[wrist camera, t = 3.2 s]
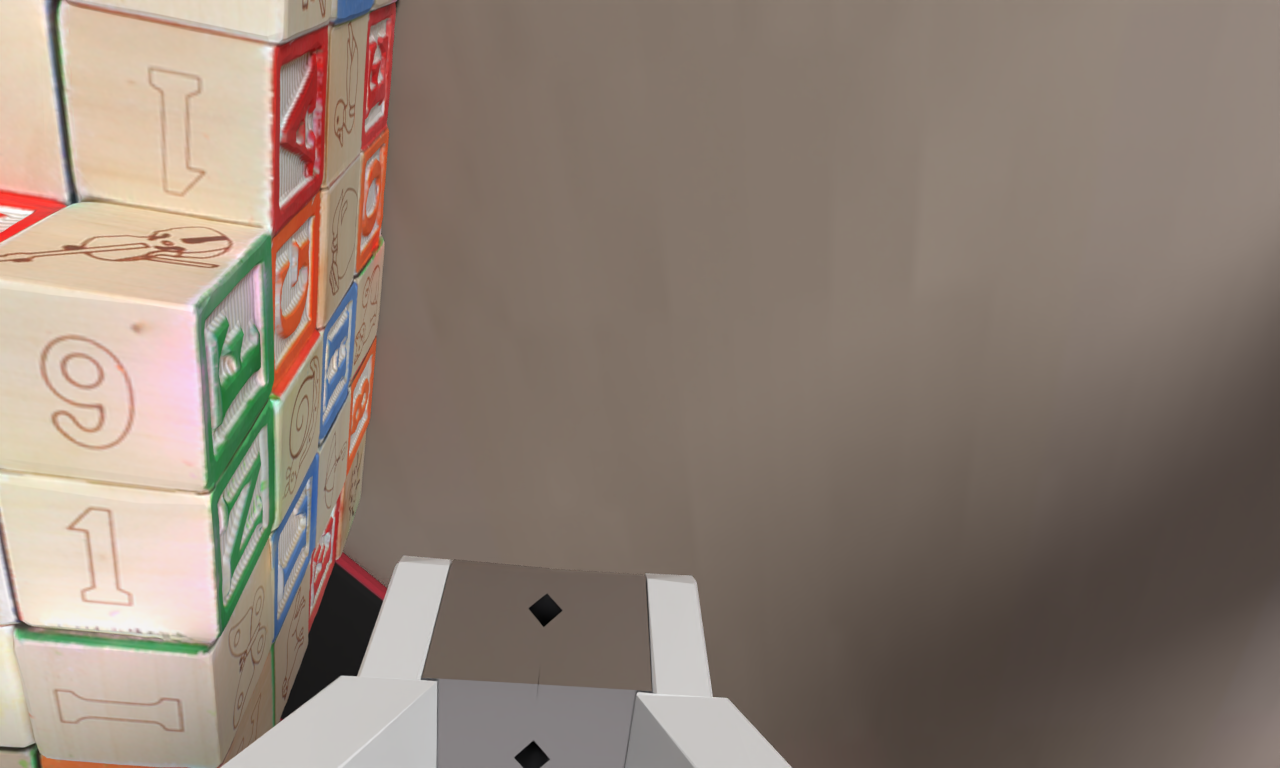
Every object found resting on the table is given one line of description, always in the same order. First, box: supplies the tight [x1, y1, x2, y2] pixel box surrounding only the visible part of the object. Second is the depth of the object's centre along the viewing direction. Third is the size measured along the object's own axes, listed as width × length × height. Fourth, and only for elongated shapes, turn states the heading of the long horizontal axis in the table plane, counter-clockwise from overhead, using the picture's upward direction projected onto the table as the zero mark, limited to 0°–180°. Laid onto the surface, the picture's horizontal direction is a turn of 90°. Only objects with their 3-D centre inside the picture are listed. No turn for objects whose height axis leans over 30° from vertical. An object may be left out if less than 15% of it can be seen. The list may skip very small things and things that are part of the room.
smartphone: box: [280, 552, 387, 720], centre depth 31 cm, size 7×1×15 cm
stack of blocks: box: [0, 0, 397, 768], centre depth 17 cm, size 21×6×12 cm, turn 168°
